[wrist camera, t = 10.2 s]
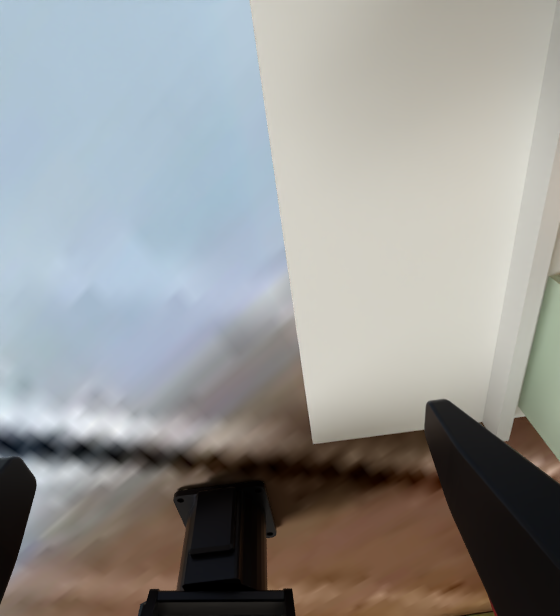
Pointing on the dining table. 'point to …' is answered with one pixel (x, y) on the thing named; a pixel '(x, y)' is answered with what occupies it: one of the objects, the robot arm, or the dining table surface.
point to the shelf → (413, 200)
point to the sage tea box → (545, 371)
